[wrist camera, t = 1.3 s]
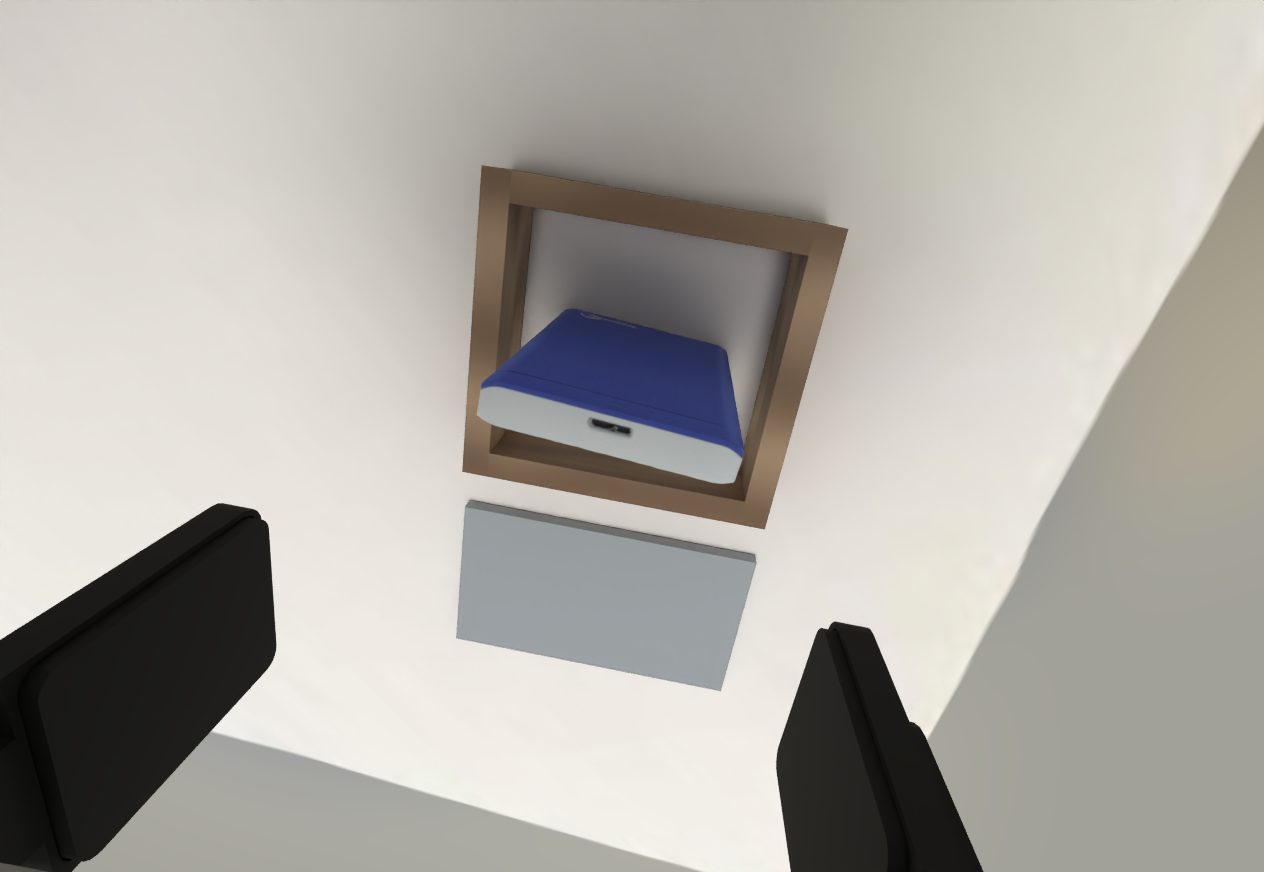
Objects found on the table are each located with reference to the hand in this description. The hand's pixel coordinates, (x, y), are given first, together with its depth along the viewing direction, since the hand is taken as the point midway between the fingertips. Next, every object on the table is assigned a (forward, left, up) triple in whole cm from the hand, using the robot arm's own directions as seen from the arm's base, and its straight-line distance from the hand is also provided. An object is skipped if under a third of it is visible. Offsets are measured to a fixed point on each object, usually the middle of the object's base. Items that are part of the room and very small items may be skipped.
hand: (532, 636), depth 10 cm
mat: (+15, 0, -21) cm, 26 cm away
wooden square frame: (0, 0, -21) cm, 21 cm away
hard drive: (0, 0, -22) cm, 22 cm away
